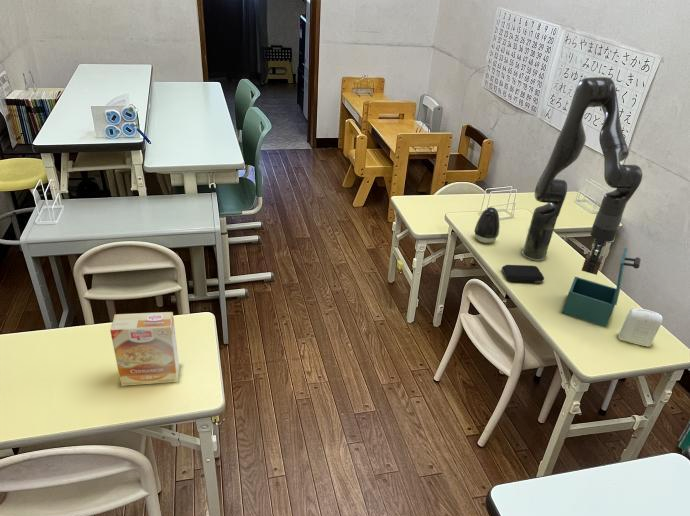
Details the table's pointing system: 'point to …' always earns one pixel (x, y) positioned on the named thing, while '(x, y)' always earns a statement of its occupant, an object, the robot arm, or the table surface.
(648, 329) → the photo printer
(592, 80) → the robot arm
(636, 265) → the lid
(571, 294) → the chest
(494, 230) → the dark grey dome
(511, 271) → the carrying case
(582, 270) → the block
